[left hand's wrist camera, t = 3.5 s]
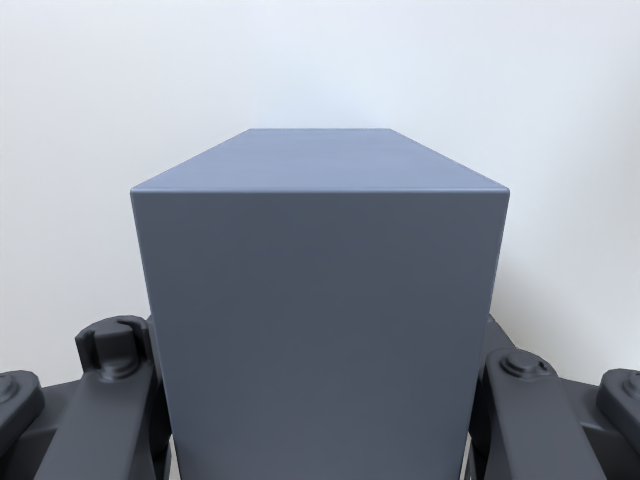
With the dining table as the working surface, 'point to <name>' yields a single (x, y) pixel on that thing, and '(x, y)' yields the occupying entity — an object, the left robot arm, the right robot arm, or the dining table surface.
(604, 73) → the dining table surface
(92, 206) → the dining table surface
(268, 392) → the beam
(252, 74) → the dining table surface
